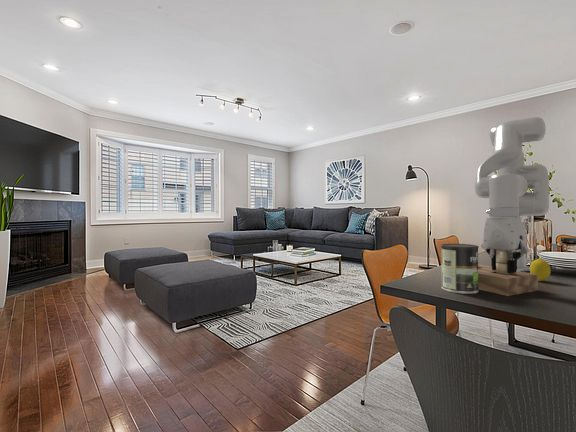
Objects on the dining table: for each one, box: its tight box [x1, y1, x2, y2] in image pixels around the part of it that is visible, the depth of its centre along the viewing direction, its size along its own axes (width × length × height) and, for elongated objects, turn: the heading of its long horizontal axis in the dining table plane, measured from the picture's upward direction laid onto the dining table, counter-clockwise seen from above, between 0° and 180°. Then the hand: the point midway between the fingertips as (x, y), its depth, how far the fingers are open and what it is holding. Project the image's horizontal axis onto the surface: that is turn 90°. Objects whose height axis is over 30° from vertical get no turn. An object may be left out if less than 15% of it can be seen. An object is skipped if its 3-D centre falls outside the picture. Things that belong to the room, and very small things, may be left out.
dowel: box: [496, 249, 512, 276], centre depth 95 cm, size 4×4×10 cm
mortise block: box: [478, 264, 539, 297], centre depth 100 cm, size 14×22×6 cm, turn 22°
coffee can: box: [440, 243, 480, 295], centre depth 95 cm, size 10×10×14 cm
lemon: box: [529, 257, 552, 282], centre depth 104 cm, size 6×6×8 cm
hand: (503, 270), depth 95 cm, fingers closed on dowel, 4 cm apart
